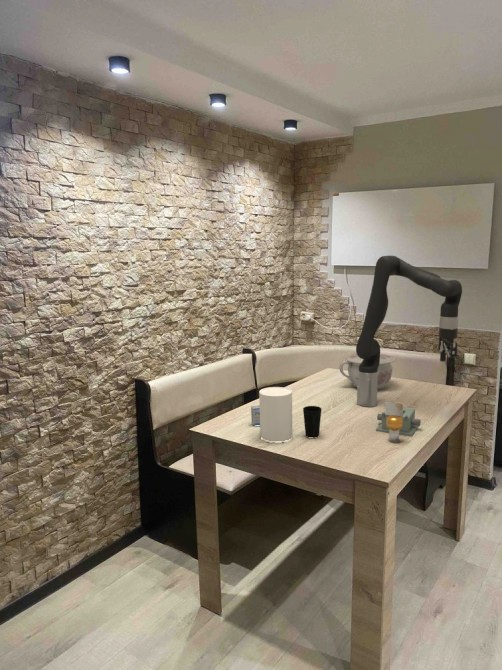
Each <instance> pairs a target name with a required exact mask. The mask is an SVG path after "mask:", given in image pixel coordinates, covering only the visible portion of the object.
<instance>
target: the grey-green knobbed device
mask: <svg viewBox="0 0 502 670" xmlns="http://www.w3.org/2000/svg"><path fill="white" fill-rule="evenodd" d="M415 417H416V408H412V407H404V406H403V424H402V429H399V436H406V437H413V435H414V434H415V432H416V430H417V429H418V427H420V426H421V424H422V423H421V419H419V418H415ZM376 419H377V421H380V422H381V423H380V424H379V425H378V426H377V427H376V429H375V431H376V432H380V433H387V434H389V428H387V417H386V410H385V411H383V412H381V413H377V417H376Z"/></svg>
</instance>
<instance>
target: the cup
mask: <svg viewBox="0 0 502 670" xmlns="http://www.w3.org/2000/svg"><path fill="white" fill-rule="evenodd" d="M302 412H303V423H304V424H303V425H304V431H305V437H306V436H308V437H318V436H319V437H320V430H321V429H320V428H321V418H322V417H321V416H322V407H320V406H317V405H308V406H304V407H303V408H302ZM308 437H307V438H308ZM319 437H318V438H319Z"/></svg>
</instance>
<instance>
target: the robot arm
mask: <svg viewBox="0 0 502 670" xmlns="http://www.w3.org/2000/svg"><path fill="white" fill-rule="evenodd" d="M373 274H374V275H373V282H372V285H371V286H372V287H371V291H370V295H369V300H368V303H367V307H366V312H365V317H364V319H363V325H362V329H361V331H360V335H359V337H358V341H357V344H356V347H355V354H357V355H358V357H359V358H361V359H363V361H362V363H361V364H360V365H359V384H358V386H357V387H356V405H358V406H360V407H366V408H372V407H377V405H378V390H377V377H378V367H379V363H380V354H381V346H380V343H379V341H378V340H377V339H375V335H376V333H377V331H378V330H379V328H380V326H381V325H382V323H384V320H385V317H386V315H387V312H388V308H389V296H388V289H387V287H388V283H389V280H390V277H391V276H400V277H403V278H406V279H408V280H410V281H411V282H413V283H414V284H416V285H417V286H419V287H422V288H425V289H427V290H429V291H430V290H431V291H432V292H434V293H435V294H437V295H439V296H440V297H443V298H444V301H443V303H442V304H441V305H440V311H439V312H440V313H439V314H440V317H439V322H438V346H437V350H438V351H439V353H440V354H439V356H440V357H439V358H440V359H439V361H440V362H441V363H442V362H446V359H447V366H448V367H454V365H455V364H454V363H455V358H457V356H458V342H454V341H455V339H457V338H458V333H459V305H460V302H461V299H462V294H463V286H462V283H461V282H460V281H459V280H457V279H451V280H448V279H447V280H446V279H443V278H441V276H440V275H438V274H436V273H433V272H430V271H428V270H425V269H422V268H419V267H416V266H414V265H412V264H410V263H408V262H406V261H404V260H403V259H401V258H399V257H398V256H397V255H382V256H380V257H379V258H378V259H377V260H376V263H375V268H374V273H373ZM446 356H447V357H446Z"/></svg>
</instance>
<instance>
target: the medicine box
mask: <svg viewBox="0 0 502 670" xmlns="http://www.w3.org/2000/svg"><path fill="white" fill-rule="evenodd" d="M250 410H251V411H250V412H251V413H250V416H251V417H250V418H251V424H252V423H253V424H254V425H260V404H259V405H251V406H250Z"/></svg>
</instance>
